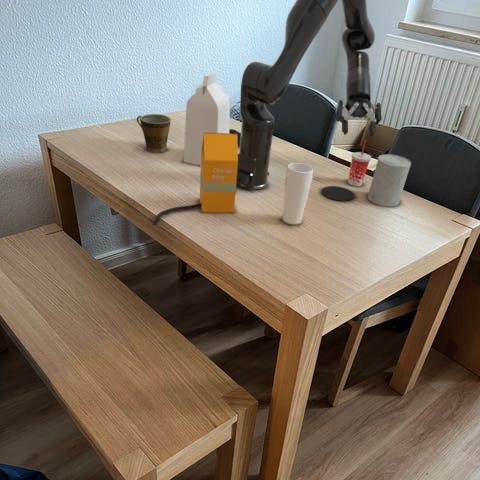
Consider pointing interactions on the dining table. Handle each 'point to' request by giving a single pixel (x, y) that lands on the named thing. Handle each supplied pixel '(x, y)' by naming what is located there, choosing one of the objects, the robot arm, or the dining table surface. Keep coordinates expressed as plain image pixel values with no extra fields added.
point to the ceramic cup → (155, 131)
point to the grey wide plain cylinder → (389, 180)
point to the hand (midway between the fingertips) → (358, 134)
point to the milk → (205, 116)
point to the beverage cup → (358, 167)
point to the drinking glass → (296, 191)
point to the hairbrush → (237, 135)
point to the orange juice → (218, 172)
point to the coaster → (337, 193)
